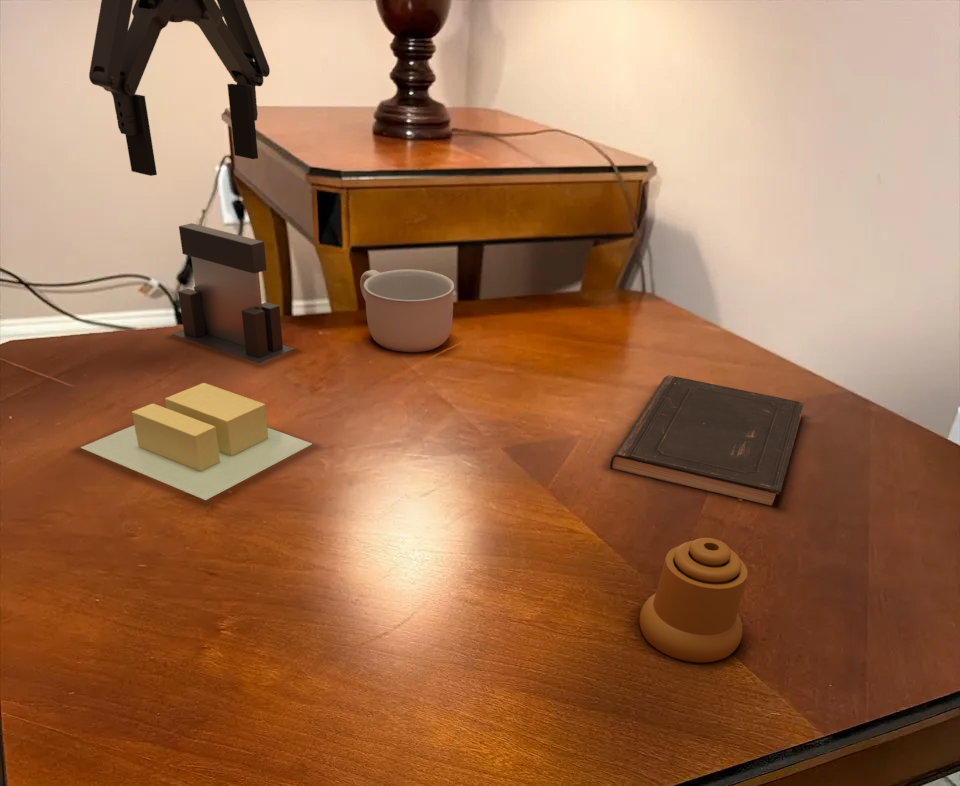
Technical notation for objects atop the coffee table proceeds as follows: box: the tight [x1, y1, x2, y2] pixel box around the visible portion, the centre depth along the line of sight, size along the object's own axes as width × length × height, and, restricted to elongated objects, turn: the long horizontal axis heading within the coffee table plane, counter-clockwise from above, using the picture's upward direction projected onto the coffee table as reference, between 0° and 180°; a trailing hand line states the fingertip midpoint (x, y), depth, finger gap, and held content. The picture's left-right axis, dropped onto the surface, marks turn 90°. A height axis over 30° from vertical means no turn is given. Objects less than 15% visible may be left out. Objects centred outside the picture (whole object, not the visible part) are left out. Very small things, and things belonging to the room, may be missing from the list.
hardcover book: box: [609, 374, 806, 506], centre depth 90 cm, size 16×23×2 cm
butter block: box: [164, 382, 269, 456], centre depth 83 cm, size 8×5×4 cm, turn 58°
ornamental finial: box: [639, 537, 748, 664], centre depth 62 cm, size 8×8×8 cm
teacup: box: [359, 268, 455, 353], centre depth 107 cm, size 14×11×8 cm
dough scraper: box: [178, 222, 267, 346], centre depth 100 cm, size 11×2×12 cm, turn 58°
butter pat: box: [131, 403, 220, 471], centre depth 79 cm, size 8×2×4 cm, turn 58°
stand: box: [172, 286, 295, 364], centre depth 102 cm, size 14×6×6 cm, turn 58°
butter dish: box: [80, 424, 313, 501], centre depth 82 cm, size 16×14×1 cm
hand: (198, 165), depth 88 cm, fingers open, 13 cm apart
